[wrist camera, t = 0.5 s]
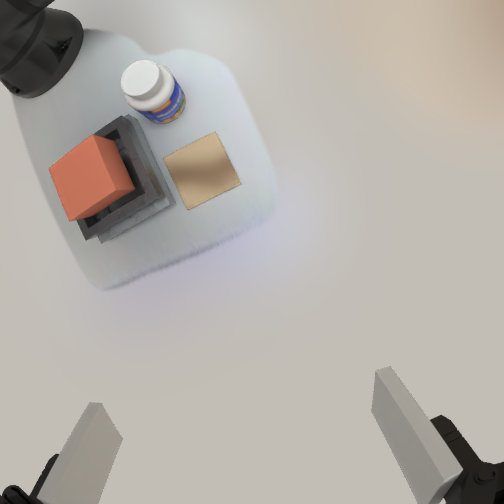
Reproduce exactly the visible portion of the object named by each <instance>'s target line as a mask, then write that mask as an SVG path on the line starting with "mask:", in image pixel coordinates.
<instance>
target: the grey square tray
mask: <svg viewBox="0 0 504 504" xmlns="http://www.w3.org/2000/svg"><path fill="white" fill-rule="evenodd" d="M93 135H97V136H100V137H103V138H106V139H109V140H112V141H115V144H116V146H117V149H118V151H120V150H122V149H123V148H126V151H127V153H128V155H129V157H130V160H131V162H132V164H133V166H134V169H135V171H136V173H137V175H138V177H139V180H140V182H141V184H142V186H143V188H144V190H145V193H144V194H142V195H140V196H139V197H137V198H135V199H134V200H132V201H130V202H129V203H127V204H125V205H124V206H122V207H120V208H119V209H117V210H115V211H114V212H112V213H111V214H110V212H109V210H108V207H106V208H104V209H103V210H101V211H100V212H98V213H97V214H95V215H94V216H90V217H86V218H82V219H78V220H77V222H78V225H79V227H80V229H81V231H82V233H83V236H84V238H85V240H89V239H91V238H94V237H97V236H98V238H99V240H100V242H101V243H103V242H106V241H108V240H110V239H112V238H114V237H116V236H117V235H119V234H121V233H122V232H124V231H126V230H128V229H129V228H131V227H133V226H134V225H136V224H138V223H140V222H141V221H143V220H145V219H147V218H149V217H150V216H152V215H154V214H156V213H158V212H159V211H161V210H163V209H165V208H167V207H169V206H170V205H172V204H174V203H176V202H175V200H174V198H173V196H172V194H171V192H170V190H169V188H168V186H167V183H166V181H165V179H164V177H163V175H162V173H161V171H160V169H159V167H158V164H157V162H156V160H155V158H154V156H153V154H152V151H151V149H150V147H149V145H148V143H147V140H146V138H145V136H144V134H143V132H142V129H141V127H140V125H139V123H138V120H137V119H136V118H134V117H132V116H131V115H129V114H128V115H126V116H125V117H123V116H120V117H118V118H117V119H115V120H114V121H112V122H111V123H109V124H108V125H106V126H105V127H103V128H102V129H100V130H99V131H97V132H96V133H95V134H93Z"/></svg>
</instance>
